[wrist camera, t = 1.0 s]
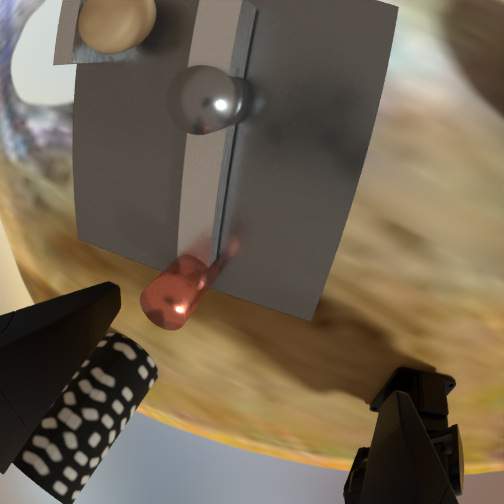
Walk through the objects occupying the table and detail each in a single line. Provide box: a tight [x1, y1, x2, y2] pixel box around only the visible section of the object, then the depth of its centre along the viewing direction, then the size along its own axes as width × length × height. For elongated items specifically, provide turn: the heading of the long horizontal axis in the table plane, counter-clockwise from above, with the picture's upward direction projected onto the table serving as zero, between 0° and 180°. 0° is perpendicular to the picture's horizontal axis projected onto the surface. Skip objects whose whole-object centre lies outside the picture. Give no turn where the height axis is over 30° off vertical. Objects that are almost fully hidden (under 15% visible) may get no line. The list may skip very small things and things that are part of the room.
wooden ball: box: [78, 0, 156, 54], centre depth 14 cm, size 5×5×5 cm
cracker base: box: [53, 0, 399, 321], centre depth 19 cm, size 22×22×4 cm
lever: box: [140, 0, 256, 330], centre depth 17 cm, size 20×4×6 cm, turn 170°
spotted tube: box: [12, 333, 158, 504], centre depth 27 cm, size 8×8×20 cm
